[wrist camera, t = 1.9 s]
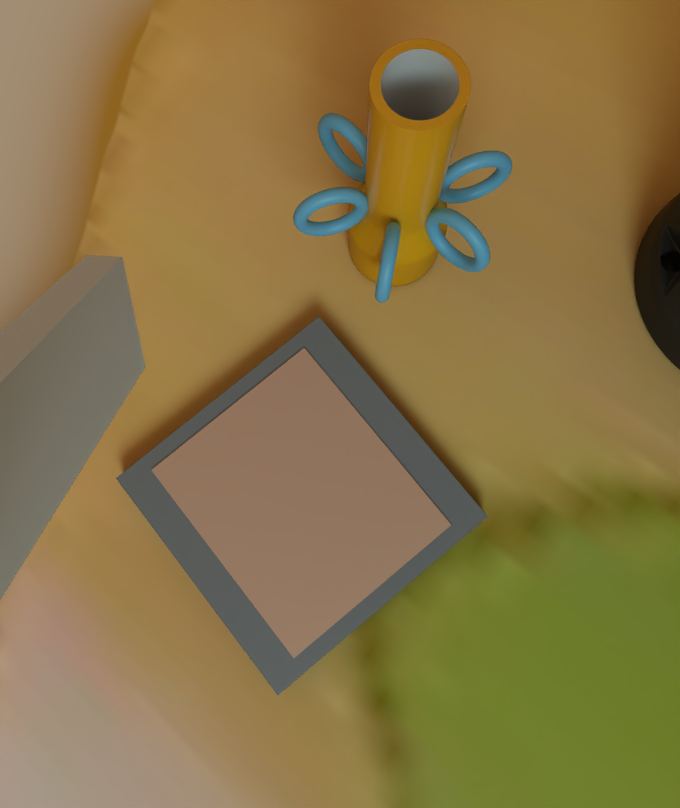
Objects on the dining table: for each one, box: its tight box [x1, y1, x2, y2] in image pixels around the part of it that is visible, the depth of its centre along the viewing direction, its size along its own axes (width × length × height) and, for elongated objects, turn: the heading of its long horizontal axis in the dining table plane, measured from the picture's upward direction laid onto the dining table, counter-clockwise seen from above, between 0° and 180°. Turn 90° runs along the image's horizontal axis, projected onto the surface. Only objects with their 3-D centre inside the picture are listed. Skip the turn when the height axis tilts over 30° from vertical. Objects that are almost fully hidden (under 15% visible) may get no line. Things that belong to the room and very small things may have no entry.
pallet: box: [116, 317, 488, 695], centre depth 34 cm, size 16×16×1 cm
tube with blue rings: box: [293, 39, 512, 302], centre depth 29 cm, size 12×10×15 cm
